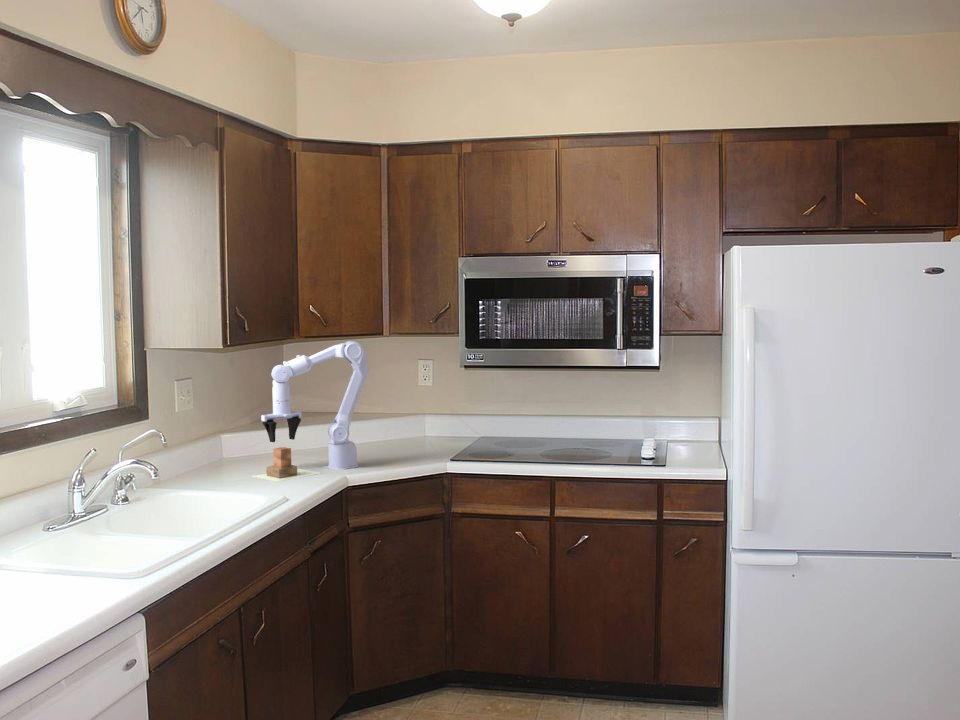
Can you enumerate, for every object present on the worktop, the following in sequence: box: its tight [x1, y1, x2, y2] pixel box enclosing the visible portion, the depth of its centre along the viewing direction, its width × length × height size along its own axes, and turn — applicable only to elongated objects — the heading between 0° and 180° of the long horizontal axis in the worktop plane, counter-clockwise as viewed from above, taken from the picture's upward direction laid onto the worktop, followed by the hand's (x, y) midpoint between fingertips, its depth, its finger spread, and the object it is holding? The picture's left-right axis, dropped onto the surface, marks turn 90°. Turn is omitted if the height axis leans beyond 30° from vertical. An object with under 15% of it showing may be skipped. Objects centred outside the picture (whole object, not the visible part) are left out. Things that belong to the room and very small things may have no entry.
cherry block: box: [273, 446, 292, 468], centre depth 269 cm, size 4×4×6 cm
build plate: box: [251, 467, 322, 483], centre depth 272 cm, size 18×14×1 cm
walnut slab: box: [265, 464, 298, 479], centre depth 270 cm, size 7×7×3 cm
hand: (282, 440), depth 279 cm, fingers open, 7 cm apart
